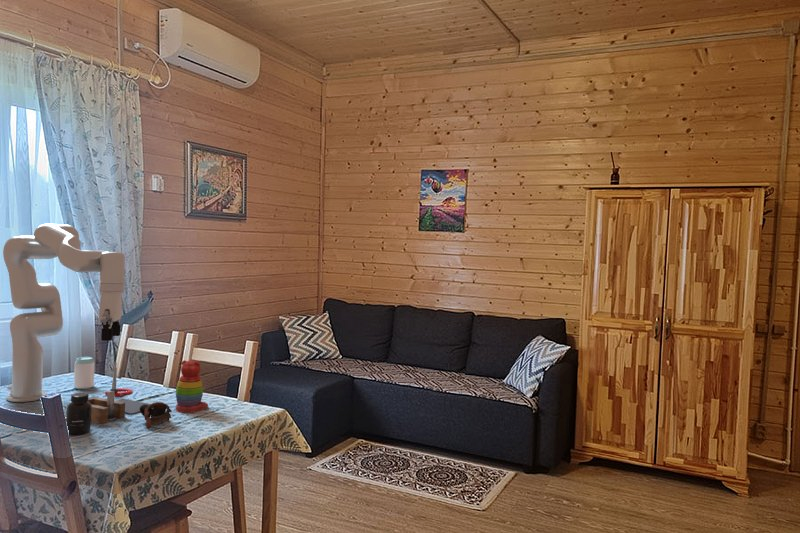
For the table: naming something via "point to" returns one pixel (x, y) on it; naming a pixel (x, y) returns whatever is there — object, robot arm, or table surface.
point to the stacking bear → (190, 388)
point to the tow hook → (115, 384)
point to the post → (111, 405)
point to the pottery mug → (155, 413)
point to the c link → (105, 410)
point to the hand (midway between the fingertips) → (111, 338)
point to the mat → (132, 406)
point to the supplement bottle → (79, 414)
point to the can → (84, 373)
